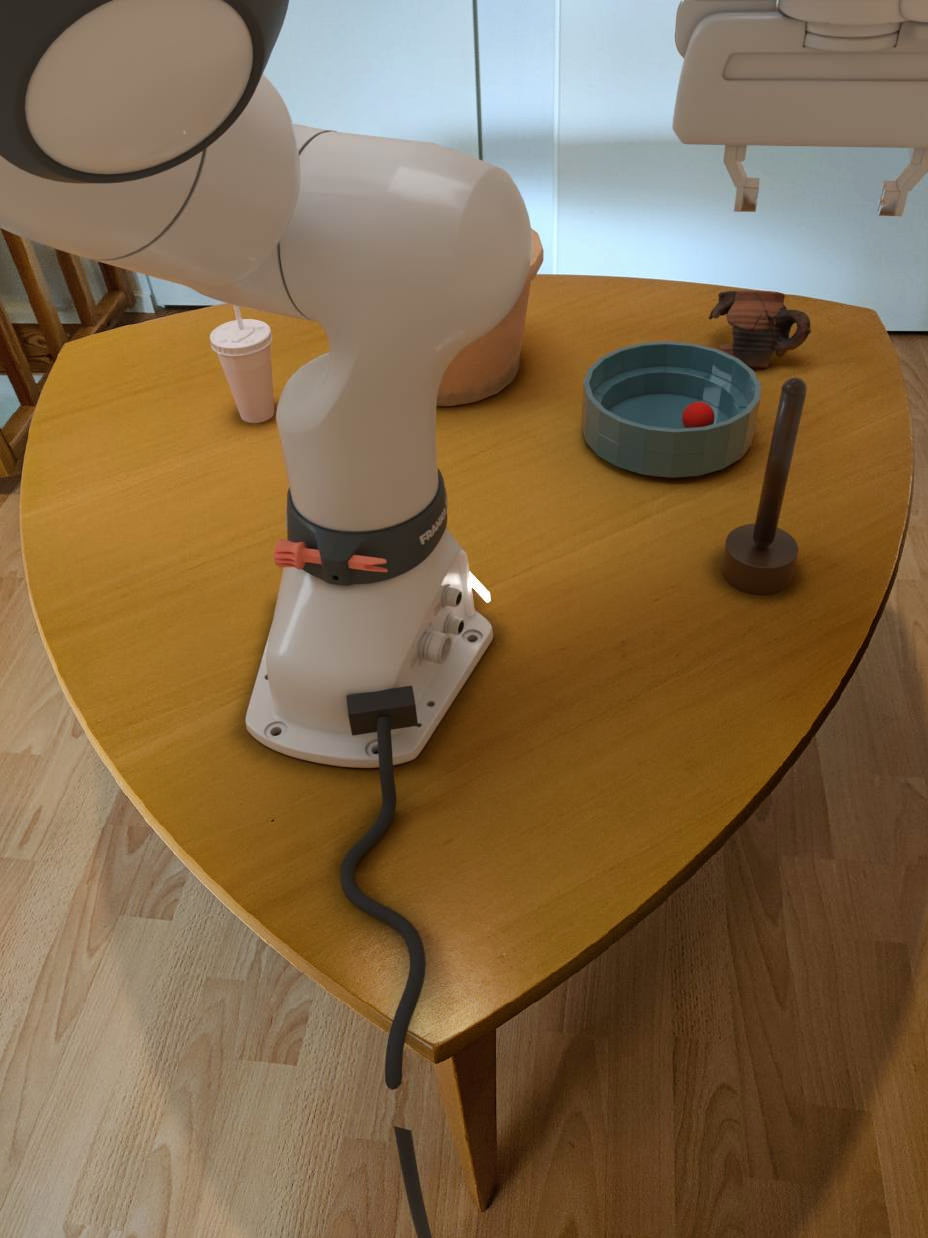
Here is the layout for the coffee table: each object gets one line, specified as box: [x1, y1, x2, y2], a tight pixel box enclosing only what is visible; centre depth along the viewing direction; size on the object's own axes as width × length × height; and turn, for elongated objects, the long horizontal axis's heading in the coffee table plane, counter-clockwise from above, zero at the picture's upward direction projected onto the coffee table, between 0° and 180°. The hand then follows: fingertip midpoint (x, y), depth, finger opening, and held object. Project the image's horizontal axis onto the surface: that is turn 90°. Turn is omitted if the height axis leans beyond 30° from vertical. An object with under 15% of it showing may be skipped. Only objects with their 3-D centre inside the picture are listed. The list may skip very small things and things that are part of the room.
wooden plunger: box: [720, 376, 808, 596], centre depth 80 cm, size 6×6×19 cm
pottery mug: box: [708, 290, 812, 369], centre depth 113 cm, size 12×10×8 cm
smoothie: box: [209, 305, 275, 424], centre depth 105 cm, size 6×6×14 cm
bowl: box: [581, 340, 762, 479], centre depth 101 cm, size 17×17×6 cm
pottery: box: [436, 227, 545, 407], centre depth 110 cm, size 22×22×14 cm
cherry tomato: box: [682, 402, 715, 428], centre depth 101 cm, size 3×3×3 cm
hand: (815, 210), depth 68 cm, fingers open, 8 cm apart
